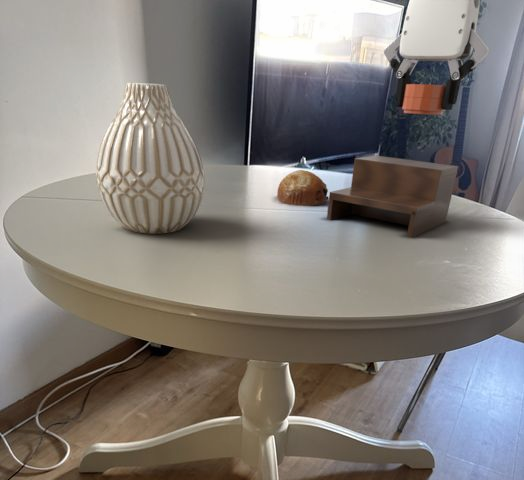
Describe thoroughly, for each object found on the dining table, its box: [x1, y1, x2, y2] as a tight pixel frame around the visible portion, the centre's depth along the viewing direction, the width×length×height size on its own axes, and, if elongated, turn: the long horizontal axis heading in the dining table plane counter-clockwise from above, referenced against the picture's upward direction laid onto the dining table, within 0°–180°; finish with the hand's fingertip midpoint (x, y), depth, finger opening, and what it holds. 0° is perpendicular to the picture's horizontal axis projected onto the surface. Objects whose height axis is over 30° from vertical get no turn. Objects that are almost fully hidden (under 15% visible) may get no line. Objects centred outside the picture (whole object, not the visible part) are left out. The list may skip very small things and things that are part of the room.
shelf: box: [326, 155, 459, 239], centre depth 85 cm, size 16×16×10 cm
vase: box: [95, 82, 206, 235], centre depth 71 cm, size 16×16×20 cm
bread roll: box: [276, 169, 329, 207], centre depth 98 cm, size 10×10×8 cm
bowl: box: [401, 83, 446, 116], centre depth 76 cm, size 7×7×4 cm
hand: (423, 107), depth 76 cm, fingers closed on bowl, 6 cm apart
